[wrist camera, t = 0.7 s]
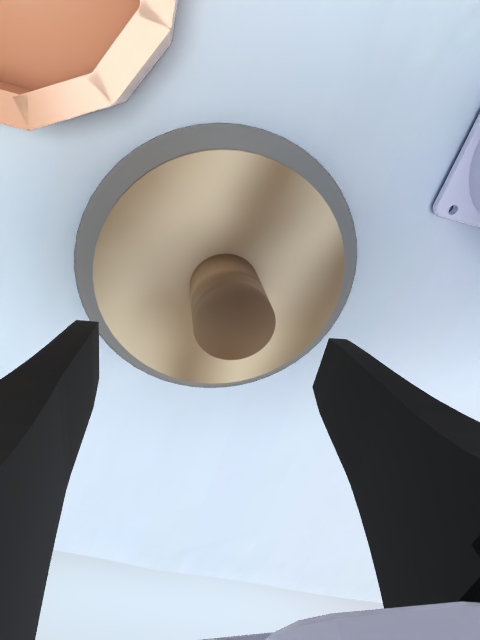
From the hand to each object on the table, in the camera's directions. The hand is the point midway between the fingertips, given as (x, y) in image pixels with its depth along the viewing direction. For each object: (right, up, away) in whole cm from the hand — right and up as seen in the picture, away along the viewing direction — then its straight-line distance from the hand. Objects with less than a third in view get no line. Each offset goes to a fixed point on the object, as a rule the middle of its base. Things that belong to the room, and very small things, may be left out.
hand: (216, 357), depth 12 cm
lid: (0, +3, +9) cm, 9 cm away
